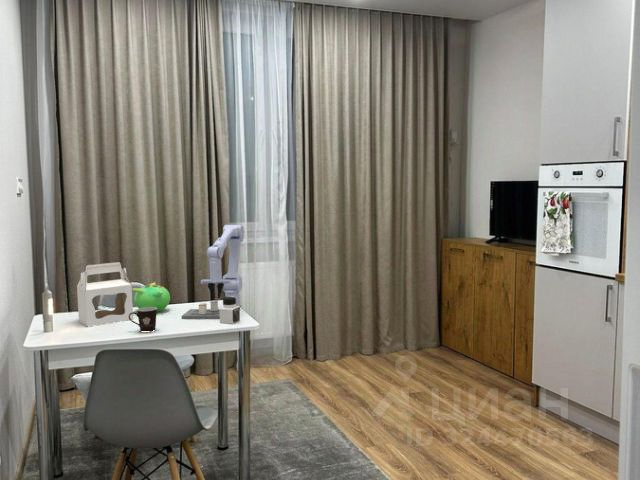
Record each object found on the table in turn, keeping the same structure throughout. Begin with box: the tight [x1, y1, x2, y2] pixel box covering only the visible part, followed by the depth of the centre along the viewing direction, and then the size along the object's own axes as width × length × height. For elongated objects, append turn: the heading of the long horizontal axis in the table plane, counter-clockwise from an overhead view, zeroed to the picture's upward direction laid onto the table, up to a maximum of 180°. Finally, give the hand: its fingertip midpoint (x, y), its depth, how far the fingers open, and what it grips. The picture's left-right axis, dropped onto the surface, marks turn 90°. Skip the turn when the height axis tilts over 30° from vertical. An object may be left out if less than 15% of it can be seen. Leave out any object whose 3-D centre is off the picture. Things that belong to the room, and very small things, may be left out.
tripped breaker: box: [198, 303, 207, 314], centre depth 286 cm, size 3×3×5 cm
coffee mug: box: [129, 307, 158, 332], centre depth 262 cm, size 12×9×10 cm
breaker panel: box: [181, 308, 220, 320], centre depth 290 cm, size 15×19×2 cm
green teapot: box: [132, 282, 171, 312], centre depth 299 cm, size 18×17×15 cm
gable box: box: [76, 261, 134, 327], centre depth 281 cm, size 22×13×28 cm, turn 129°
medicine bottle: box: [219, 296, 241, 325], centre depth 276 cm, size 7×7×12 cm
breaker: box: [209, 300, 219, 311], centre depth 293 cm, size 3×3×5 cm
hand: (216, 298), depth 285 cm, fingers open, 2 cm apart
